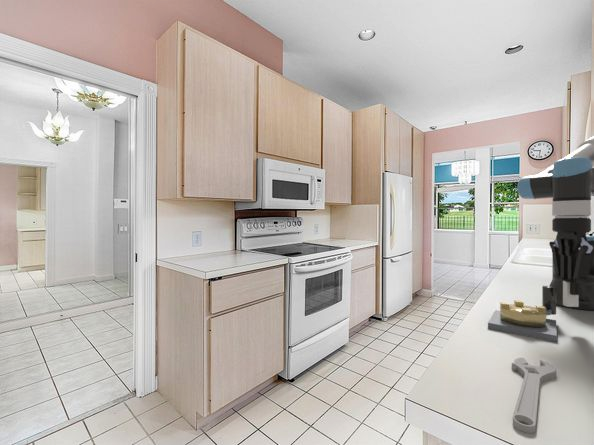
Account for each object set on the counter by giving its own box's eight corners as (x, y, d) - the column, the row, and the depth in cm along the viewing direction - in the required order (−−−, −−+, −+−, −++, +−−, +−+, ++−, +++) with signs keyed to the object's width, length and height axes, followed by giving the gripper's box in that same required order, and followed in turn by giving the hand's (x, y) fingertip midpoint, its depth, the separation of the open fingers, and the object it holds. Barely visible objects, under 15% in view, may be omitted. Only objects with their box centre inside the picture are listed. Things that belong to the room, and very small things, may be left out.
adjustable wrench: (535, 440, 41) (535, 428, 41) (481, 418, 45) (481, 406, 45) (557, 372, 58) (557, 363, 58) (517, 361, 62) (517, 353, 62)
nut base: (494, 310, 95) (494, 305, 95) (555, 320, 86) (555, 315, 86) (483, 327, 81) (483, 321, 81) (556, 342, 71) (556, 335, 71)
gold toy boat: (529, 329, 75) (529, 296, 75) (491, 316, 84) (491, 287, 84) (573, 320, 80) (573, 290, 80) (533, 310, 90) (533, 283, 90)
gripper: (609, 217, 72) (608, 314, 72) (568, 217, 85) (567, 299, 85) (574, 217, 73) (573, 313, 73) (539, 217, 86) (538, 298, 86)
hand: (570, 305), depth 79 cm, fingers closed
